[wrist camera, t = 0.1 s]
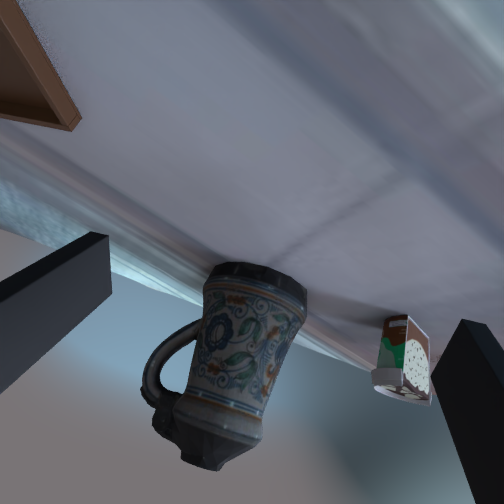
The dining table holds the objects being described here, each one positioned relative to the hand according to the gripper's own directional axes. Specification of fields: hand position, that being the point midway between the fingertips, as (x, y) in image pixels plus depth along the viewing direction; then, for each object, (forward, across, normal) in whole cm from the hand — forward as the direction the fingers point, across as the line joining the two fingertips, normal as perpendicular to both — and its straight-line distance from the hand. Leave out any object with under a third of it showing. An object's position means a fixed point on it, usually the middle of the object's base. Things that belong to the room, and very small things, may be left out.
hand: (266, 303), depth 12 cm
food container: (+35, +19, -23) cm, 46 cm away
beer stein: (+34, -5, -21) cm, 41 cm away
